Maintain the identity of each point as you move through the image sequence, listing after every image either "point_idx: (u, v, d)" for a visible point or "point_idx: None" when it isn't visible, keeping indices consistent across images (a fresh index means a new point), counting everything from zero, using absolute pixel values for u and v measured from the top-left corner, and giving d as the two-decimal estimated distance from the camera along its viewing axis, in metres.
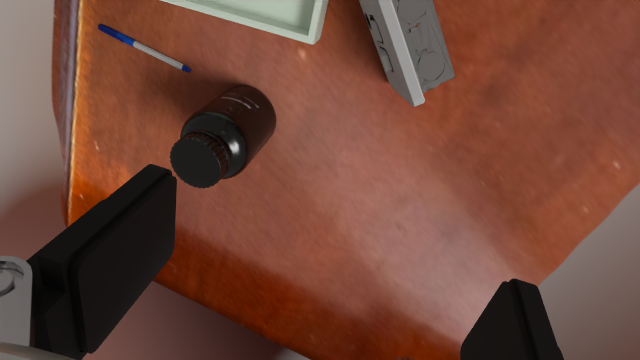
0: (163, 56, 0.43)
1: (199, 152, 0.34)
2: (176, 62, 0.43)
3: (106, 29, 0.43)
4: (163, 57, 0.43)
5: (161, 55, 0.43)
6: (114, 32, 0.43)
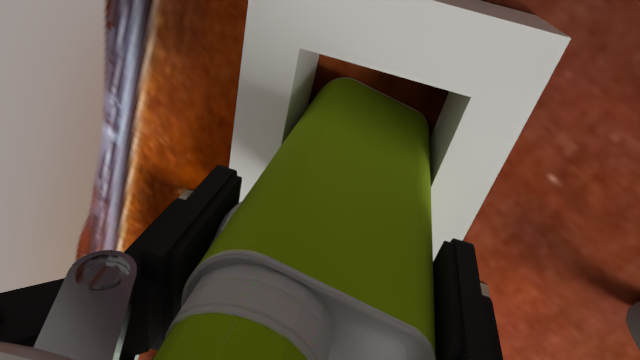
0: None
1: None
2: None
3: None
4: None
5: None
6: None
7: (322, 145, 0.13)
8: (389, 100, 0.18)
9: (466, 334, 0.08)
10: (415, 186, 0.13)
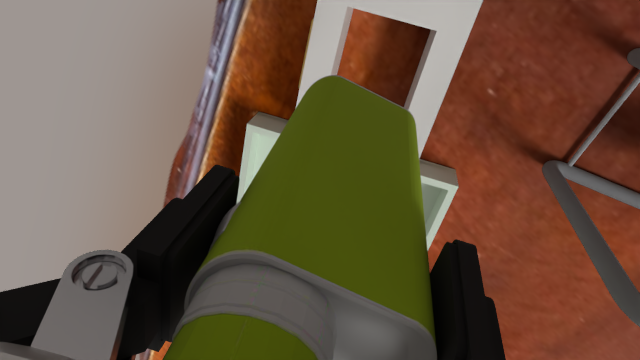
0: None
1: None
2: None
3: None
4: None
5: None
6: None
7: (317, 144, 0.13)
8: (377, 98, 0.19)
9: (469, 336, 0.08)
10: (407, 184, 0.13)
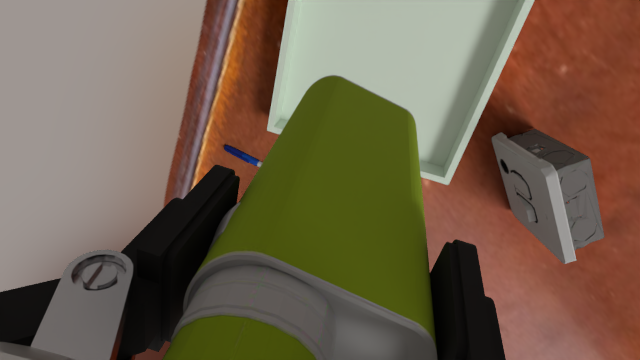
0: None
1: None
2: None
3: (232, 150, 0.45)
4: None
5: None
6: (239, 153, 0.45)
7: (317, 144, 0.13)
8: (377, 98, 0.19)
9: (469, 336, 0.08)
10: (408, 184, 0.13)
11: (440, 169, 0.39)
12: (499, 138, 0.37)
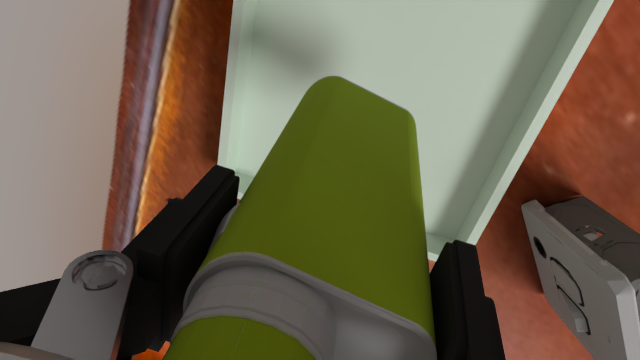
0: None
1: None
2: None
3: None
4: None
5: None
6: None
7: (317, 144, 0.13)
8: (377, 98, 0.19)
9: (469, 336, 0.08)
10: (407, 184, 0.13)
11: None
12: (533, 210, 0.26)
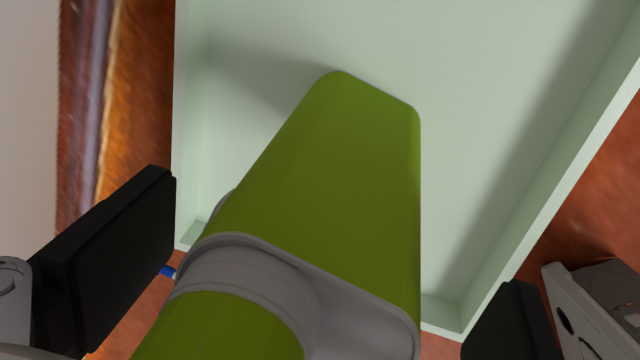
0: None
1: None
2: None
3: None
4: None
5: None
6: None
7: (315, 135, 0.13)
8: (382, 94, 0.19)
9: None
10: (404, 176, 0.13)
11: (454, 312, 0.24)
12: (558, 276, 0.21)
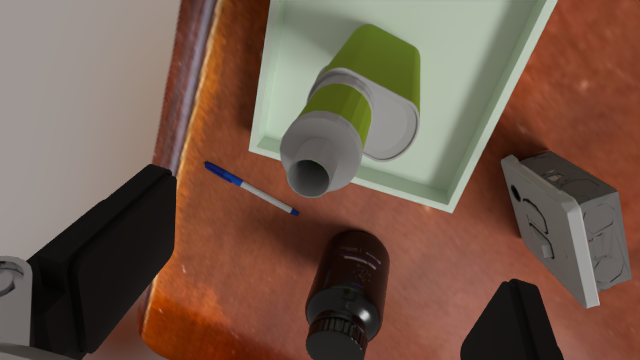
0: (272, 199, 0.41)
1: (342, 343, 0.32)
2: (285, 206, 0.41)
3: (213, 168, 0.40)
4: (272, 200, 0.41)
5: (270, 198, 0.41)
6: (221, 171, 0.41)
7: (363, 46, 0.24)
8: (396, 38, 0.30)
9: None
10: (411, 70, 0.25)
11: (443, 194, 0.35)
12: (510, 162, 0.33)
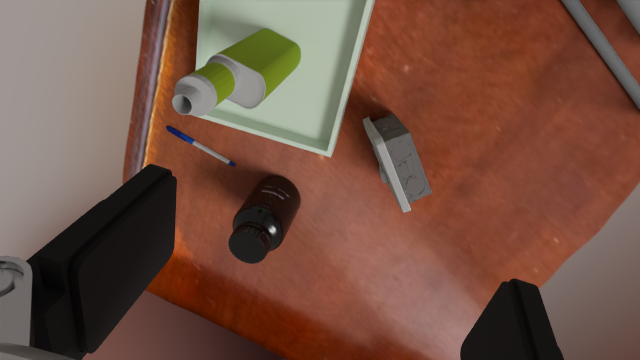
0: (215, 153, 0.57)
1: (250, 240, 0.47)
2: (224, 158, 0.57)
3: (173, 130, 0.56)
4: (215, 154, 0.57)
5: (213, 152, 0.57)
6: (178, 133, 0.56)
7: (246, 42, 0.40)
8: (283, 37, 0.46)
9: None
10: (276, 57, 0.40)
11: (326, 145, 0.51)
12: (365, 120, 0.48)
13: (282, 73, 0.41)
